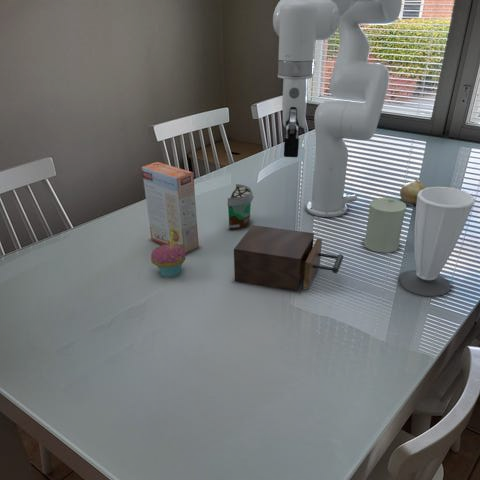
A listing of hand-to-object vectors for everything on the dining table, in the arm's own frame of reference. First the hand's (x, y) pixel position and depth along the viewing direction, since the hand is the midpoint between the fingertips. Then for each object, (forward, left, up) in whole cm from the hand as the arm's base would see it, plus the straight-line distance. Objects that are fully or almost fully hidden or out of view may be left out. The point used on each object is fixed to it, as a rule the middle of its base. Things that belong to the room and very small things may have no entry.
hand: (291, 150), depth 112 cm
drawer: (+3, +13, -25) cm, 29 cm away
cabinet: (+8, +10, -26) cm, 29 cm away
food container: (+5, -20, -27) cm, 34 cm away
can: (-25, +7, -26) cm, 37 cm away
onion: (-51, -15, -27) cm, 60 cm away
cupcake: (+32, 0, -26) cm, 41 cm away
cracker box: (+27, -15, -27) cm, 41 cm away
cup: (-23, +28, -26) cm, 45 cm away
